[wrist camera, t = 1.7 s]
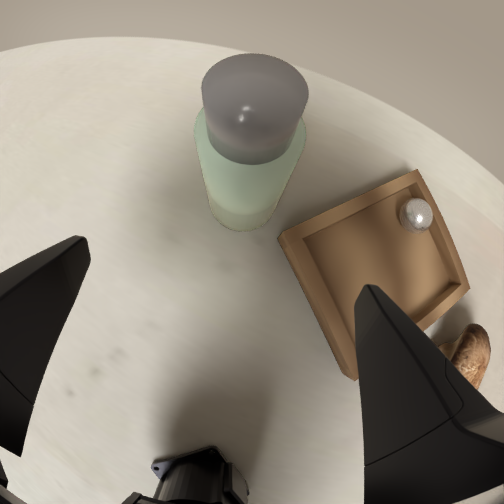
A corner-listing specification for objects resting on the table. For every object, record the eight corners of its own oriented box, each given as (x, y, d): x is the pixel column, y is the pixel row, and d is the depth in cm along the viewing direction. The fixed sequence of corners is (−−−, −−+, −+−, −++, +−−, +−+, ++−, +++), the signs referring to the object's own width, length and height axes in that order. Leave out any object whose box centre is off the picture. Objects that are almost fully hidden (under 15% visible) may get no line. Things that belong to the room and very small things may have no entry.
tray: (342, 373, 20) (354, 381, 18) (277, 239, 22) (283, 231, 19) (453, 289, 22) (470, 288, 20) (403, 179, 23) (417, 168, 21)
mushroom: (416, 360, 18) (485, 378, 13) (445, 299, 22) (501, 310, 17) (409, 411, 20) (462, 428, 16) (438, 355, 24) (485, 366, 20)
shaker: (226, 242, 21) (218, 163, 8) (199, 185, 22) (168, 67, 9) (287, 214, 22) (349, 118, 9) (257, 160, 22) (281, 37, 10)
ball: (403, 243, 21) (423, 235, 18) (387, 211, 22) (405, 200, 19) (424, 229, 22) (444, 221, 19) (409, 199, 22) (428, 188, 19)
